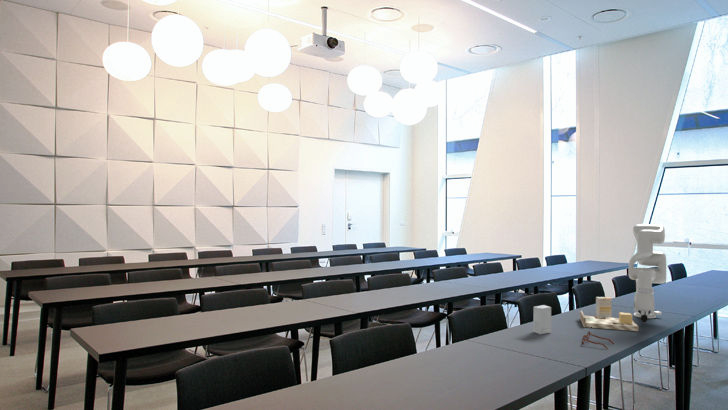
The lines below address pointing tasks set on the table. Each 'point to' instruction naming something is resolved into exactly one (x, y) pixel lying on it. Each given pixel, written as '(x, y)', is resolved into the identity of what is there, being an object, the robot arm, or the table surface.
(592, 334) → the glasses
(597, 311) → the supplement box
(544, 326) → the skincare box
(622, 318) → the ochre block
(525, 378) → the table surface
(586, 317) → the cream sorting tray
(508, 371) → the table surface
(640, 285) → the robot arm
